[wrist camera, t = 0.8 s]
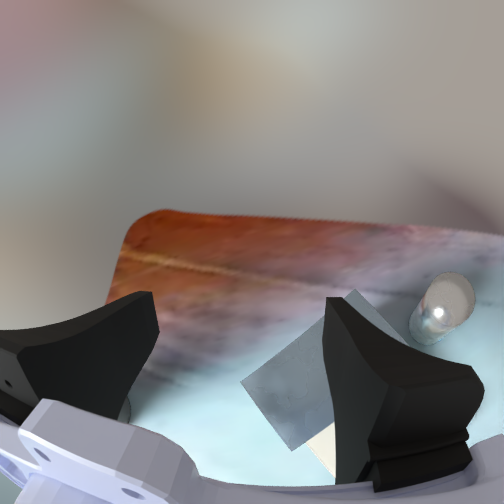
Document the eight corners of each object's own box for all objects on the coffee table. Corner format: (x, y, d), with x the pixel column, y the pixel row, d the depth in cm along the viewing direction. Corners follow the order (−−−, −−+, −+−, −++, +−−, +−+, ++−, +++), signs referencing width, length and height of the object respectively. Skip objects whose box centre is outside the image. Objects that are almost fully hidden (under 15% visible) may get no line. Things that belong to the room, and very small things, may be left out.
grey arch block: (395, 365, 23) (414, 351, 16) (310, 434, 23) (291, 451, 15) (355, 320, 27) (355, 288, 19) (273, 387, 26) (240, 381, 19)
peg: (453, 323, 23) (483, 296, 16) (427, 353, 23) (453, 336, 16) (427, 296, 25) (448, 261, 18) (400, 324, 25) (416, 298, 18)
